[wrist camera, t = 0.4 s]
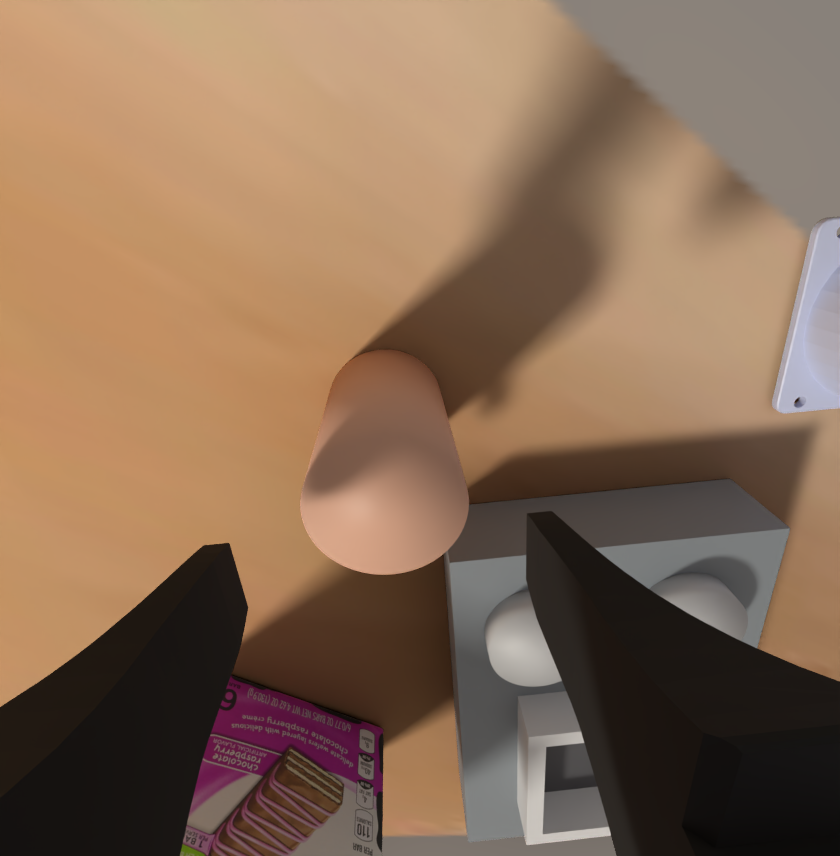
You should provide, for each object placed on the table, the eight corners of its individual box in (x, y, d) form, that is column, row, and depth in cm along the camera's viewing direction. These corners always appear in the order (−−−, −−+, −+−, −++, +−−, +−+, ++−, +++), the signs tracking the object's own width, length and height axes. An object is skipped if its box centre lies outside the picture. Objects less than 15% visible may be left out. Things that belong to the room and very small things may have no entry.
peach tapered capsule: (438, 343, 21) (465, 424, 14) (447, 484, 24) (474, 612, 16) (320, 354, 21) (285, 441, 14) (343, 494, 24) (324, 628, 16)
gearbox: (730, 478, 24) (828, 560, 19) (674, 746, 33) (732, 855, 27) (440, 507, 24) (455, 598, 19) (459, 770, 33) (473, 885, 27)
